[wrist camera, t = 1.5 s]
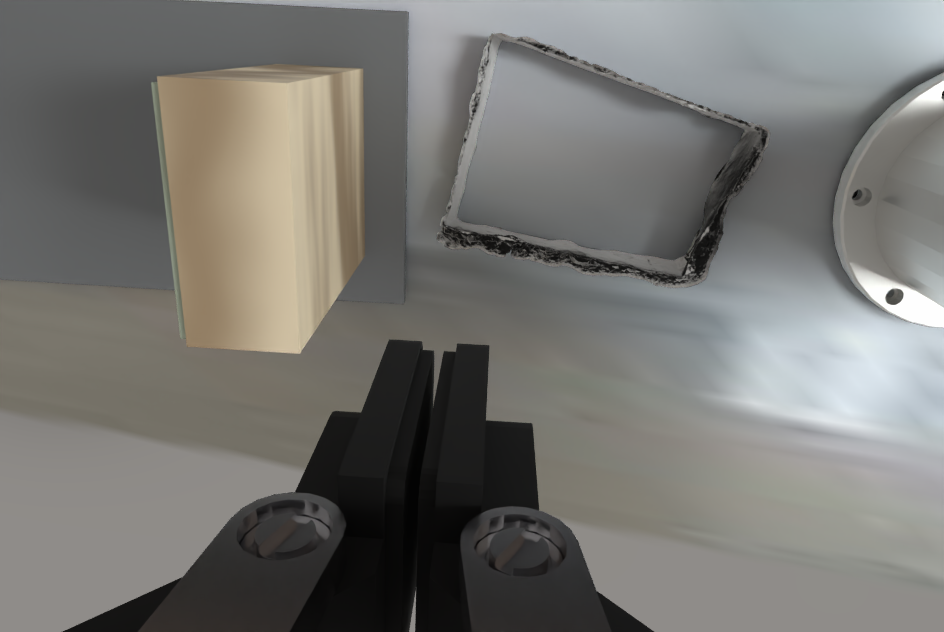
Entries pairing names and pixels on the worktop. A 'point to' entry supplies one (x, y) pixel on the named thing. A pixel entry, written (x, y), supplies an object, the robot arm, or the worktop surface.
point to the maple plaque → (261, 199)
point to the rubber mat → (135, 136)
